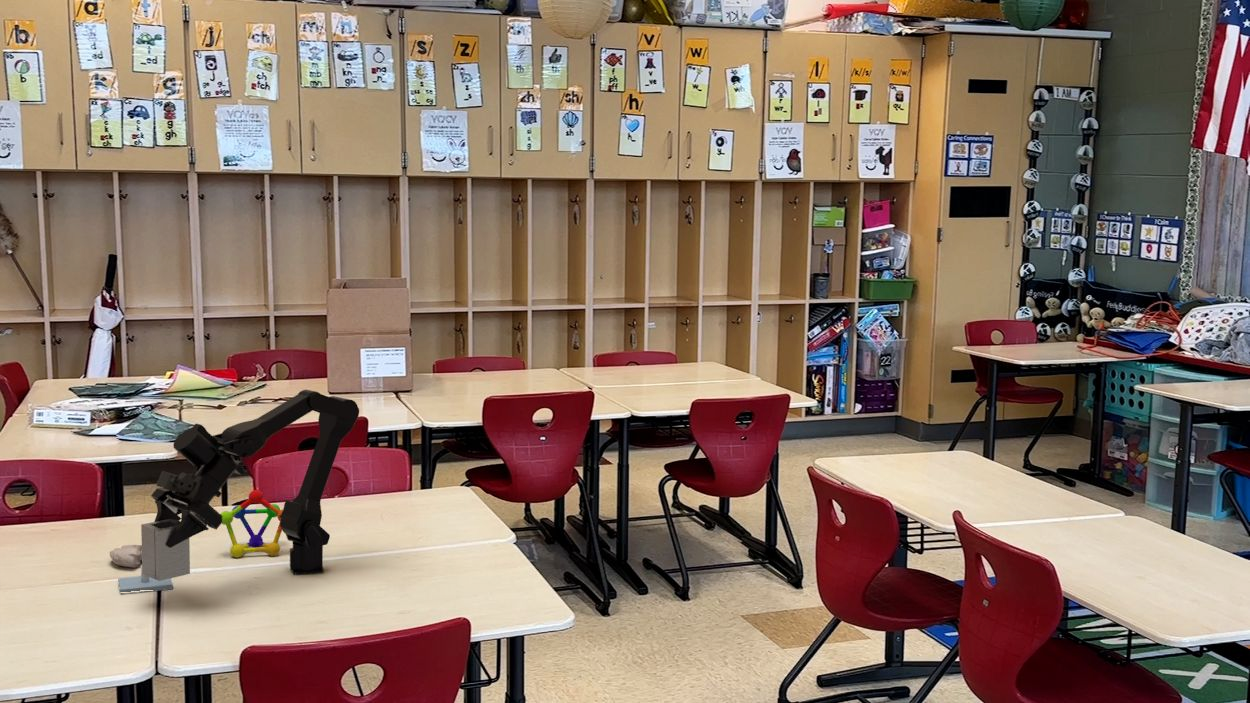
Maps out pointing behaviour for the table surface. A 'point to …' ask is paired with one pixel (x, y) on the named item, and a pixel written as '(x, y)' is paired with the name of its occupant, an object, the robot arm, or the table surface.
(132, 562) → the fossil
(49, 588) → the table surface
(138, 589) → the shaft stand
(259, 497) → the educational toy
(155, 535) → the open metal box
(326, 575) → the table surface
